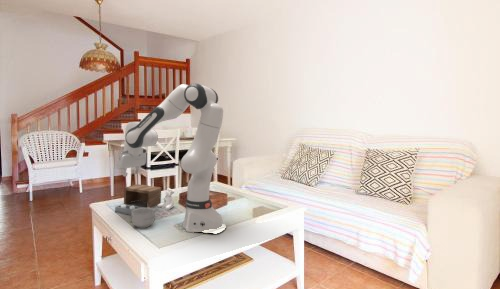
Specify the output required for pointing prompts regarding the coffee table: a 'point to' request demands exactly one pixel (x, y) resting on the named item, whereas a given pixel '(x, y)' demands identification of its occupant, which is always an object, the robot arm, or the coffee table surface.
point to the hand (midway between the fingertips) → (131, 174)
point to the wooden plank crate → (143, 194)
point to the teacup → (143, 217)
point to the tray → (125, 209)
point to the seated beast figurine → (167, 200)
